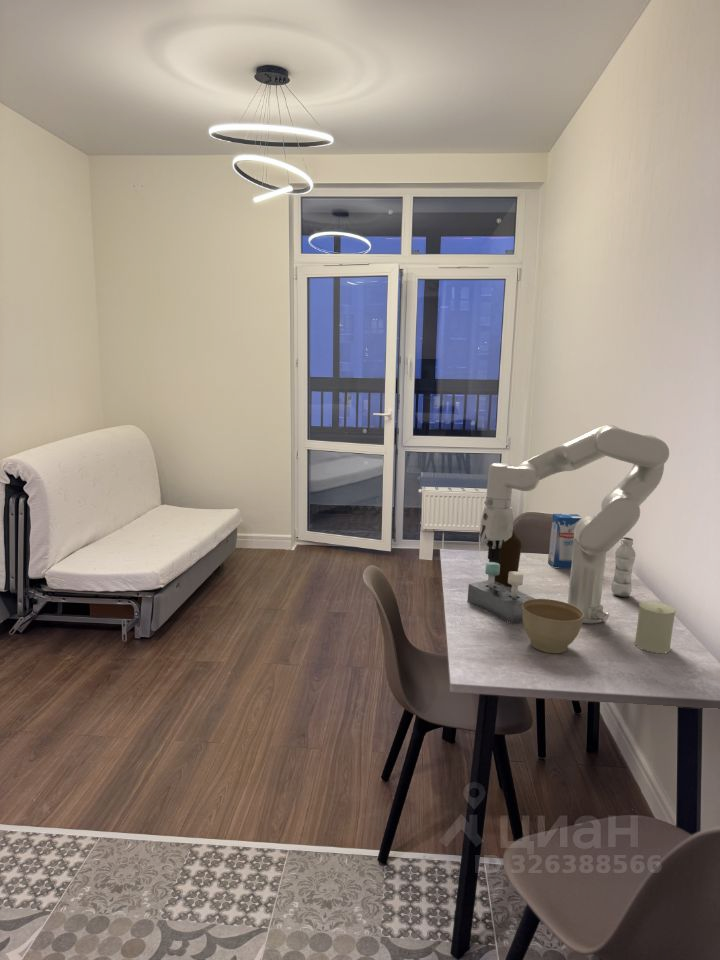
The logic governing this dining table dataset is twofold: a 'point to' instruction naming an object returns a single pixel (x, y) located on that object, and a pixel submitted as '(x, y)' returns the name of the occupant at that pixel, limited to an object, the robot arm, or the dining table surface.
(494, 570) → the teal knob
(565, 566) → the milk carton
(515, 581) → the cream knob
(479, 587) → the mount block
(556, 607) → the planter bowl
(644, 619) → the can
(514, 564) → the olive oil
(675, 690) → the dining table surface
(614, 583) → the plastic bottle
